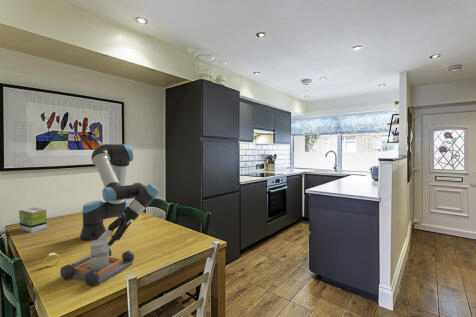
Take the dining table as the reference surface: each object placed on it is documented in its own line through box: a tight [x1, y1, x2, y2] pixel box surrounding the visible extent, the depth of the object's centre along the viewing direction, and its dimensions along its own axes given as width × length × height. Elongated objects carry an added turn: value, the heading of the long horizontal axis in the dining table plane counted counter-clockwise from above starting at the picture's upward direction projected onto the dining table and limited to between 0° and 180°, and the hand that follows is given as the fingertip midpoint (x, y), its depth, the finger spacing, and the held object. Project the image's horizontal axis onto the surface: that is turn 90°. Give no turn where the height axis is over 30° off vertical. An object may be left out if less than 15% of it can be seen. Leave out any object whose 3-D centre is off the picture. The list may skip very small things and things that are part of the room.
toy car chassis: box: [59, 247, 135, 287], centre depth 112 cm, size 22×22×6 cm
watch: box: [44, 252, 61, 268], centre depth 117 cm, size 6×3×6 cm, turn 133°
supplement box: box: [90, 238, 110, 271], centre depth 111 cm, size 7×7×13 cm
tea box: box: [18, 207, 48, 233], centre depth 170 cm, size 15×10×15 cm
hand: (101, 245), depth 112 cm, fingers open, 13 cm apart
